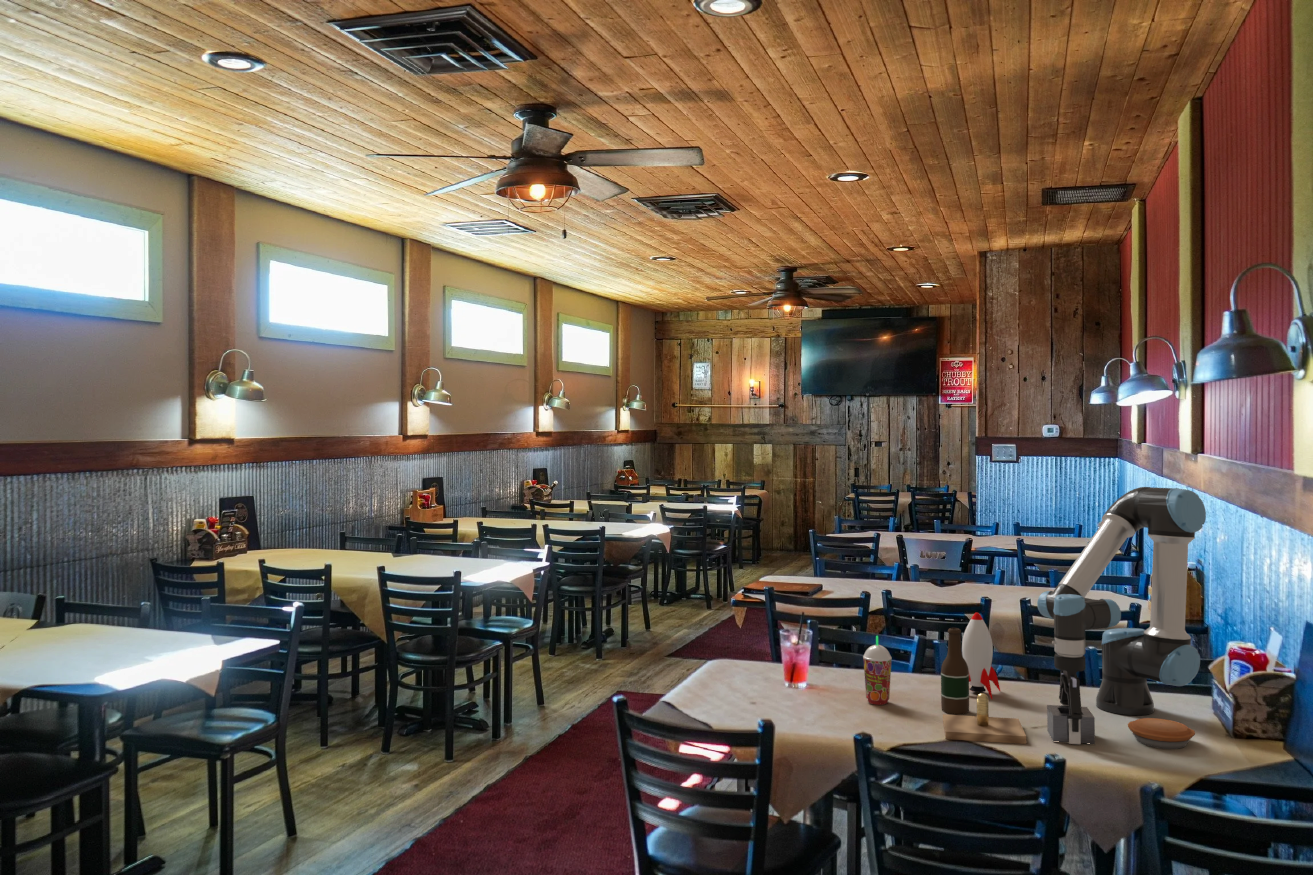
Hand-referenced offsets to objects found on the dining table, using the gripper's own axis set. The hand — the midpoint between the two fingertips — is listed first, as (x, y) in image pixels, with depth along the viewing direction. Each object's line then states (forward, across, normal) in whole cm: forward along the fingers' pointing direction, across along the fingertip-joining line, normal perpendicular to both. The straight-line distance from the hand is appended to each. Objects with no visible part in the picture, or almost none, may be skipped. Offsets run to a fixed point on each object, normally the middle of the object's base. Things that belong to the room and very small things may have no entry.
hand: (1070, 736), depth 254 cm
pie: (+1, -1, +22) cm, 22 cm away
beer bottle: (+1, -19, -28) cm, 34 cm away
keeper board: (0, 0, -22) cm, 22 cm away
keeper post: (-2, 0, -22) cm, 22 cm away
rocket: (+1, -41, -20) cm, 46 cm away
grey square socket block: (0, 0, 0) cm, 0 cm away
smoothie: (+1, -24, -50) cm, 55 cm away
